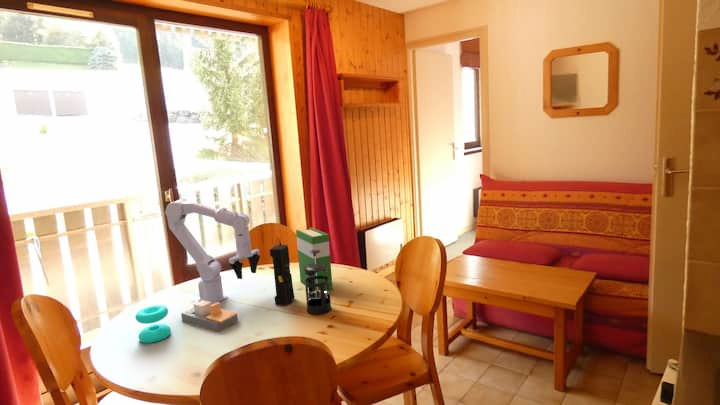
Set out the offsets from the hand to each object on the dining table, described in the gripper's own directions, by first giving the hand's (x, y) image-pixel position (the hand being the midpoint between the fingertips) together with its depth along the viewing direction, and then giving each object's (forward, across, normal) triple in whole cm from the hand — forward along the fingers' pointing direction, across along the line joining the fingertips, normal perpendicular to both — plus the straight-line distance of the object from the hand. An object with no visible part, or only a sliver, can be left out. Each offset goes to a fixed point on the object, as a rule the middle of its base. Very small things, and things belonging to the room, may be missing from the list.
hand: (246, 275), depth 176 cm
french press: (+10, +2, -35) cm, 36 cm away
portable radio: (+10, +2, -18) cm, 20 cm away
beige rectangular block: (+9, -23, -1) cm, 25 cm away
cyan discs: (+10, -40, +3) cm, 41 cm away
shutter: (+6, -23, -11) cm, 26 cm away
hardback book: (+10, +22, -18) cm, 30 cm away
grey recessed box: (+9, -23, -4) cm, 25 cm away
